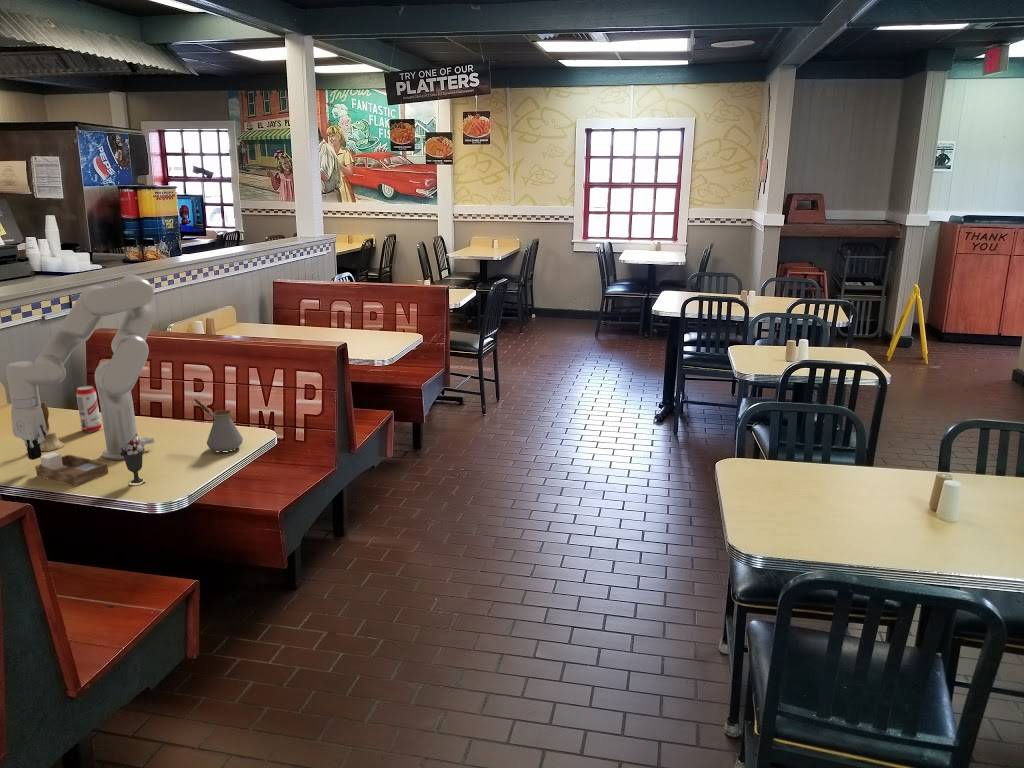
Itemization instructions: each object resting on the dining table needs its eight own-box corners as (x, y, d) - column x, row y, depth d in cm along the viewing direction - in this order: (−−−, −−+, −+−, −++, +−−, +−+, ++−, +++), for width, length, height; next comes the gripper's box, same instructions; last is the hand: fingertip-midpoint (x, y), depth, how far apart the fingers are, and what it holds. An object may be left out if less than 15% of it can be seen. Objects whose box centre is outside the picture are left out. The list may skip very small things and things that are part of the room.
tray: (37, 475, 237) (35, 466, 236) (70, 463, 246) (68, 454, 245) (75, 486, 229) (74, 476, 228) (108, 473, 239) (106, 463, 238)
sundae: (152, 477, 235) (146, 431, 231) (143, 486, 229) (136, 439, 224) (131, 478, 235) (124, 432, 231) (121, 487, 228) (113, 440, 224)
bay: (75, 474, 237) (74, 468, 237) (89, 469, 241) (88, 463, 241) (86, 477, 235) (85, 471, 235) (99, 472, 239) (98, 465, 239)
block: (42, 468, 236) (40, 456, 235) (54, 464, 240) (52, 452, 239) (50, 471, 235) (48, 458, 233) (63, 466, 238) (60, 454, 237)
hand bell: (47, 442, 264) (39, 398, 260) (69, 443, 263) (61, 399, 259) (29, 451, 256) (21, 405, 252) (52, 452, 255) (43, 407, 251)
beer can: (78, 432, 274) (70, 389, 270) (91, 426, 280) (85, 384, 276) (92, 433, 273) (85, 390, 268) (105, 428, 278) (99, 386, 274)
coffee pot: (250, 447, 260) (246, 405, 256) (220, 457, 251) (216, 414, 247) (213, 434, 272) (209, 394, 268) (183, 444, 263) (178, 402, 259)
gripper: (-2, 401, 234) (8, 457, 239) (29, 408, 228) (39, 466, 233) (22, 395, 241) (31, 450, 246) (53, 402, 234) (62, 458, 239)
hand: (35, 458), depth 239 cm, fingers closed
